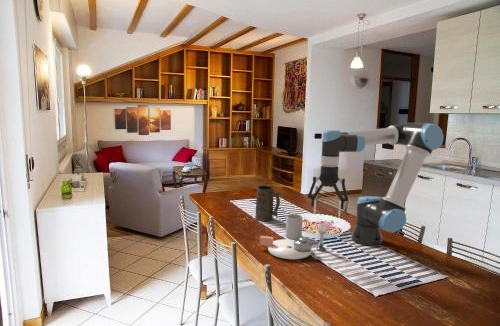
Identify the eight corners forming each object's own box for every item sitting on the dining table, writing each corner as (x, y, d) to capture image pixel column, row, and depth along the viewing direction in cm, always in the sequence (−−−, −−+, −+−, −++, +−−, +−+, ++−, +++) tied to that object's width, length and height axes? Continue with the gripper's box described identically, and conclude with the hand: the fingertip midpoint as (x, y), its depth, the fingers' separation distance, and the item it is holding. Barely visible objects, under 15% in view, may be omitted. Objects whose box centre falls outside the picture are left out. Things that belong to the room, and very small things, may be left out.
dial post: (325, 248, 168) (327, 223, 166) (325, 251, 164) (327, 225, 162) (316, 247, 169) (318, 222, 167) (315, 250, 165) (317, 224, 163)
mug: (304, 238, 181) (305, 218, 179) (289, 240, 178) (290, 219, 176) (293, 230, 192) (294, 211, 190) (279, 232, 189) (280, 212, 187)
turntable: (312, 245, 169) (313, 235, 169) (309, 261, 150) (309, 250, 149) (264, 239, 175) (265, 229, 175) (255, 254, 156) (255, 244, 155)
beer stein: (251, 219, 210) (254, 187, 206) (257, 214, 219) (260, 184, 216) (275, 225, 204) (279, 192, 201) (281, 219, 214) (284, 188, 211)
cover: (312, 246, 163) (312, 236, 163) (310, 253, 156) (311, 242, 155) (295, 244, 165) (295, 234, 165) (292, 250, 158) (293, 240, 157)
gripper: (356, 165, 153) (352, 214, 156) (304, 162, 159) (302, 210, 162) (357, 168, 146) (353, 219, 149) (302, 165, 152) (300, 214, 155)
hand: (326, 214), depth 156 cm, fingers open, 10 cm apart
